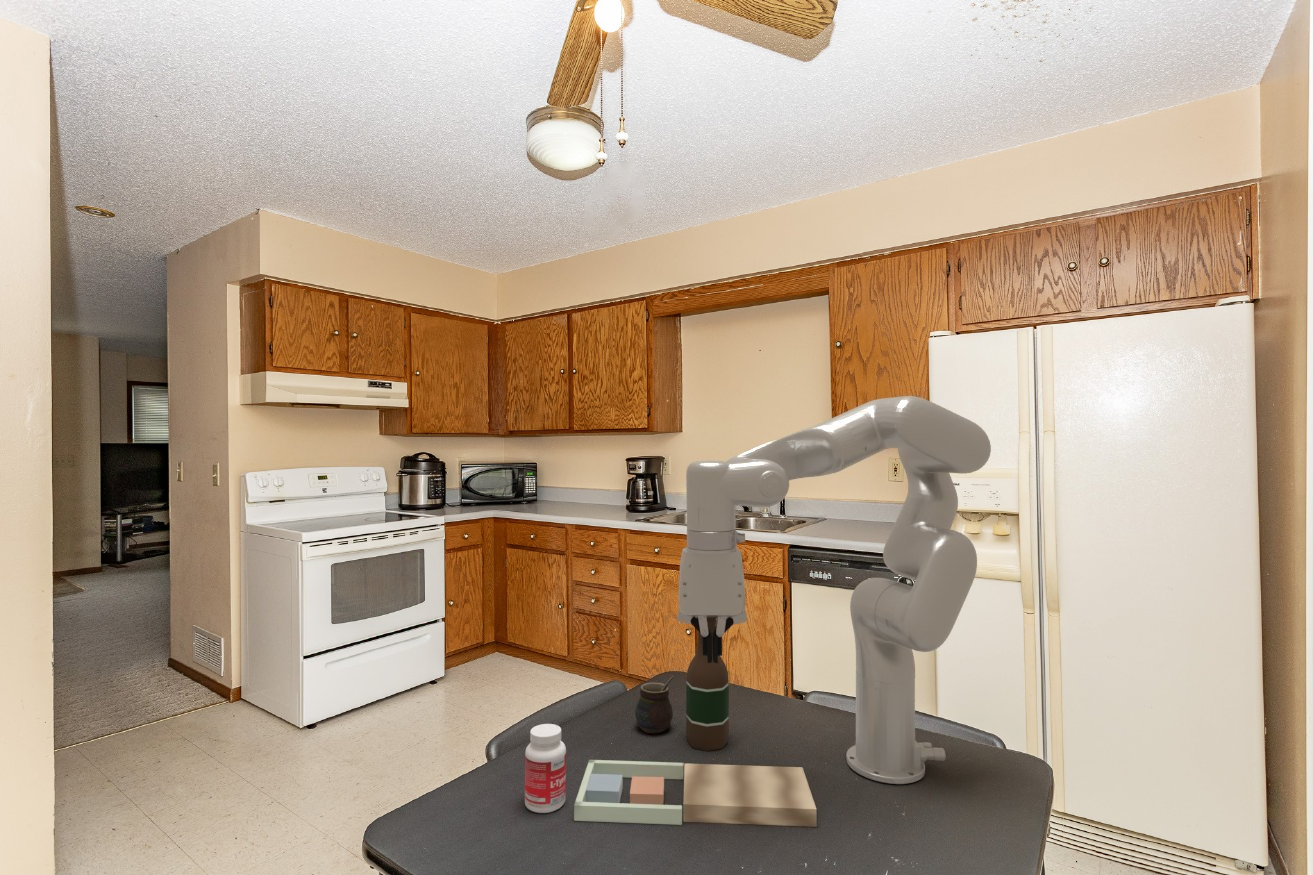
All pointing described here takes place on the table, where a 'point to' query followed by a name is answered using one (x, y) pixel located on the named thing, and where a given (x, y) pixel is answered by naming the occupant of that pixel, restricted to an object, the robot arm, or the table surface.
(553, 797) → the pill bottle
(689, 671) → the beer bottle
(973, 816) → the table surface
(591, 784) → the slate tile
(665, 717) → the mate gourd
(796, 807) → the wooden cutting board
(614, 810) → the u-shaped frame
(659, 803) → the terracotta tile
